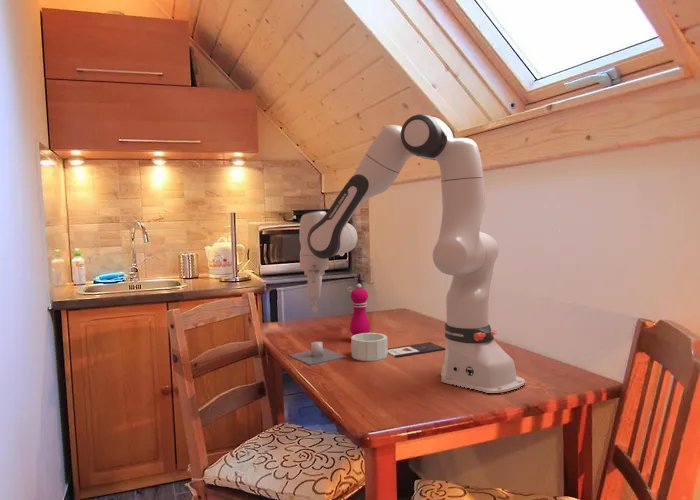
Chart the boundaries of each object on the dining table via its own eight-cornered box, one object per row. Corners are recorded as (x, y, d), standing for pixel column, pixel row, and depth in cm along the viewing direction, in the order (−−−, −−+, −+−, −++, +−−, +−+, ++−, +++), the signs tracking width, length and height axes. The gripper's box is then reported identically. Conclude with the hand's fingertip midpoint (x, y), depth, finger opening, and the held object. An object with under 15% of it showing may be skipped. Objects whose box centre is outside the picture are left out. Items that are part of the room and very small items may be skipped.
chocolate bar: (445, 348, 169) (396, 356, 161) (445, 351, 169) (396, 359, 161) (429, 342, 177) (382, 349, 169) (429, 344, 177) (382, 352, 169)
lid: (346, 359, 163) (345, 343, 162) (310, 367, 155) (309, 351, 155) (323, 350, 173) (323, 335, 173) (288, 357, 166) (288, 342, 165)
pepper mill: (362, 344, 178) (361, 285, 176) (345, 341, 182) (344, 284, 180) (374, 339, 183) (373, 283, 182) (358, 337, 188) (356, 281, 186)
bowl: (394, 356, 162) (394, 337, 162) (366, 363, 156) (365, 343, 156) (372, 349, 171) (372, 331, 171) (345, 355, 165) (344, 336, 164)
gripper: (324, 267, 152) (325, 314, 153) (324, 259, 172) (325, 301, 173) (302, 267, 151) (303, 315, 153) (305, 260, 172) (306, 301, 173)
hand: (315, 307), depth 163 cm, fingers open, 8 cm apart
